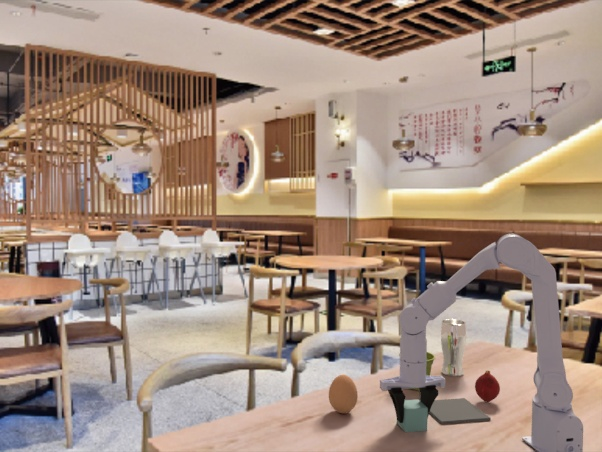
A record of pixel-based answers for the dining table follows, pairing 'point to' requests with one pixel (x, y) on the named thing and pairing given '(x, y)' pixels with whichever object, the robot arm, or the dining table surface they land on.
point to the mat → (456, 411)
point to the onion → (487, 387)
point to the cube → (414, 416)
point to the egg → (343, 394)
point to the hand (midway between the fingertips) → (411, 420)
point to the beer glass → (453, 346)
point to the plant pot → (427, 365)
